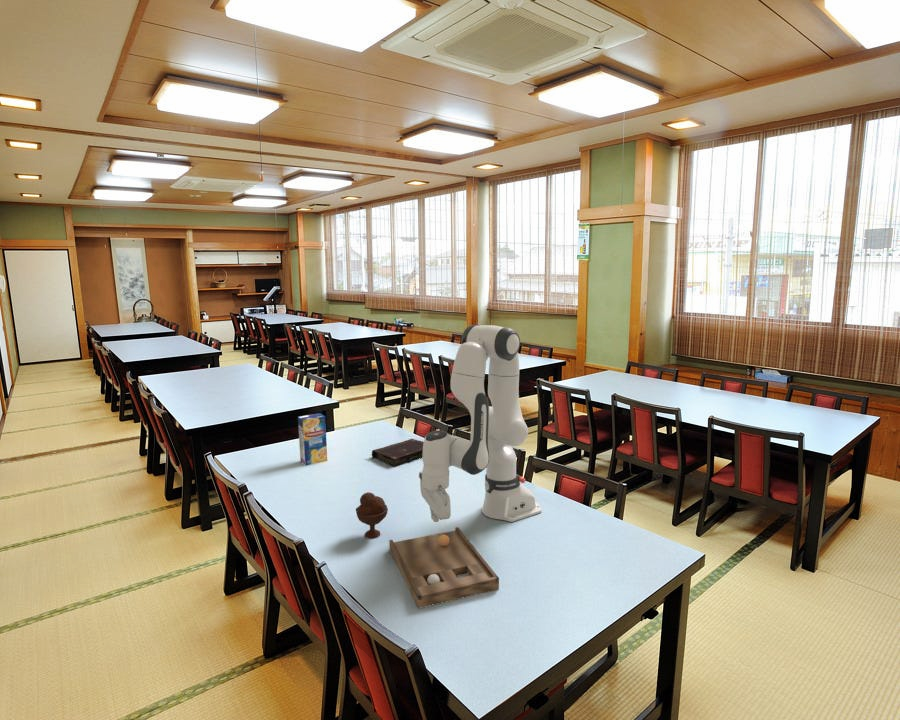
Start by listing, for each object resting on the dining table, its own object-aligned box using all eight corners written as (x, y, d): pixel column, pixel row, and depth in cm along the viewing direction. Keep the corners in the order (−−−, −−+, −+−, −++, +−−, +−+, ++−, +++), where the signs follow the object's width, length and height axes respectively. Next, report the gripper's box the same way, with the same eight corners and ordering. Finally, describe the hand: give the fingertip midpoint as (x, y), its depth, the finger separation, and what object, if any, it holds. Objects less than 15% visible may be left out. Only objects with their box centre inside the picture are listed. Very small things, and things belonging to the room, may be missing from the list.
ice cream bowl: (358, 545, 175) (357, 502, 172) (355, 529, 186) (353, 489, 183) (390, 540, 178) (389, 498, 175) (385, 525, 188) (384, 485, 186)
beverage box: (300, 461, 251) (297, 416, 248) (322, 456, 258) (320, 413, 254) (305, 465, 246) (302, 420, 242) (327, 460, 252) (325, 416, 248)
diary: (371, 459, 256) (371, 449, 255) (411, 446, 273) (411, 437, 272) (395, 468, 243) (394, 458, 242) (435, 455, 260) (435, 445, 259)
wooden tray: (458, 536, 180) (458, 527, 179) (498, 589, 150) (499, 577, 150) (389, 550, 172) (389, 540, 171) (418, 608, 142) (418, 596, 142)
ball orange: (447, 541, 172) (447, 531, 171) (451, 547, 168) (451, 536, 168) (436, 544, 170) (436, 533, 170) (440, 549, 167) (440, 538, 167)
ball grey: (437, 581, 154) (437, 570, 154) (441, 588, 151) (441, 577, 150) (425, 584, 153) (425, 573, 152) (429, 591, 150) (429, 579, 149)
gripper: (456, 491, 164) (455, 533, 166) (434, 468, 182) (434, 506, 185) (437, 494, 161) (436, 536, 164) (417, 470, 180) (416, 508, 183)
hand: (434, 520), depth 174 cm, fingers closed
